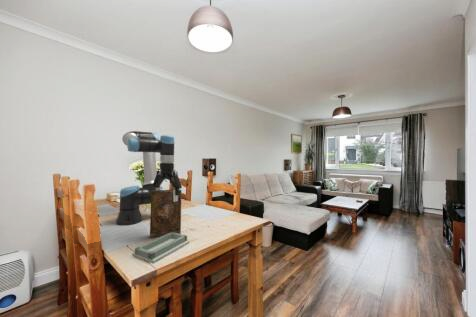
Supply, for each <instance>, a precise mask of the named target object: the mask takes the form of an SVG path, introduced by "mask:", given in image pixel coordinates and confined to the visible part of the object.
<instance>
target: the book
mask: <svg viewBox="0 0 476 317" xmlns="http://www.w3.org/2000/svg"><path fill="white" fill-rule="evenodd" d="M173 190H174V189H163V190H156V191H151V204H150V217H149V218H150V219H149V220H150V222H149V223H150V224H149V225H150V226H149V236H150V238H151V239H154V238H155V239H157V238H159V237H161V236H164V235H166V234H168V233H170V232H174V233H178V234H181V232H182V229H181V228H182V189H179V195H178V201H176V202H173Z"/></svg>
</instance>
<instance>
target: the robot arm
mask: <svg viewBox="0 0 476 317" xmlns="http://www.w3.org/2000/svg"><path fill="white" fill-rule="evenodd" d="M122 143H123V144H124V145H125V146H126V147H127V151H128V152H131V153H132V152H133V153H142V159H143V160H142V162H143V179H144V180H143V182H144V183H143V184H142V185H141V186H142V187H140V186H139V185H132V186H127V187H126V186H125V187H124V188H121V190H120V191H119V212H118V214H117V217H116V220H115V221H116V225H119V226H128V225H129V226H130V225H134V224H138V223H141V222H142V220H143V216H142V212H141V210H140V206H141V205H149V204H150V205H151V191H156V190H164V189H163V186H161V185H162V184H163V182H164V180H168V181H169V182H170V184H171V186H172V187H173V189H172V190H173V202H176V201H178V195H179V190H182V184H181V181H180V178H179V174H178V171H174V169H175V164H174V162H175V143H176V142H175V137H174V136H173V135H168V134H167V135H166V134H164V135H160V136H159V135H158V134H157V133H156V132H151V131H149V132H148V131H138V130H133V131H128V132H126V133H124V134H123V135H122ZM156 153H159V161H160V163H159V170H157V160H156V158H157V156H156Z"/></svg>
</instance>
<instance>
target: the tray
mask: <svg viewBox="0 0 476 317" xmlns="http://www.w3.org/2000/svg"><path fill="white" fill-rule="evenodd" d="M189 244H190V240H188V235H185V234H178V233H174V232H170V233H168V234H166V235H164V236H161V237H157V238H155V239H153V240H149V241H148V242H146V243H144V244H141V245H140V246H139V245H138V246H137V247H134V252H132V253H131V256H134V257H136V258H139V259H141V260H144V261H147V262H150V263H153V264H155V263H157V262H159V261H160V260H162V259H164V258H165V257H167V256H169V255H171V254H173V253H174V252H176V251H178V250H180V249H181V248H183V247H185V246H187V245H189Z"/></svg>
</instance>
